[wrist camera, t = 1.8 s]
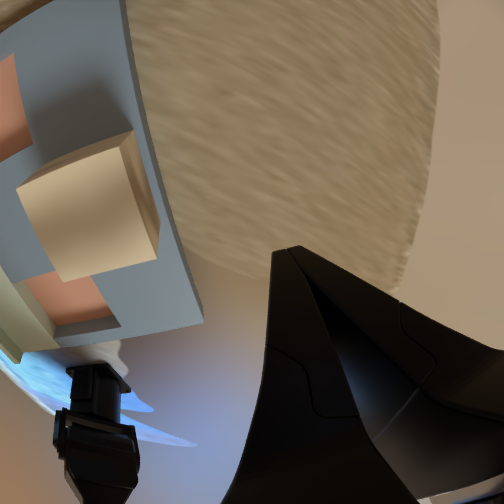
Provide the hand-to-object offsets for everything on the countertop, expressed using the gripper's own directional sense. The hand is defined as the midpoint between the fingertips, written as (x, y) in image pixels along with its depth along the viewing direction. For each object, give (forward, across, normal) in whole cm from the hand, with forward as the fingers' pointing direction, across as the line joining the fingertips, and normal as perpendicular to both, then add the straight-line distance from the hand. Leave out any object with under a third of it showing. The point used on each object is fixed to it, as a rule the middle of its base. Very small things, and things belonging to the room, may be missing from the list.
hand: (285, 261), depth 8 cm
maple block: (+10, +8, 0) cm, 13 cm away
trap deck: (+12, +16, 0) cm, 20 cm away
